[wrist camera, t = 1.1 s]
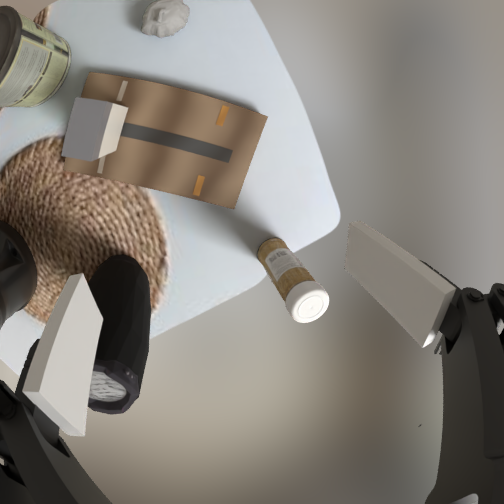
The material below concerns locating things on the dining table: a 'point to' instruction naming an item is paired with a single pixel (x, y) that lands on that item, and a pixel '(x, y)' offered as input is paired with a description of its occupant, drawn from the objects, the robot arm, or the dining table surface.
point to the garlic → (165, 18)
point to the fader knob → (93, 129)
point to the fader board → (174, 140)
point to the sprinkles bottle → (293, 281)
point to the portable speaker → (120, 334)
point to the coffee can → (29, 61)
